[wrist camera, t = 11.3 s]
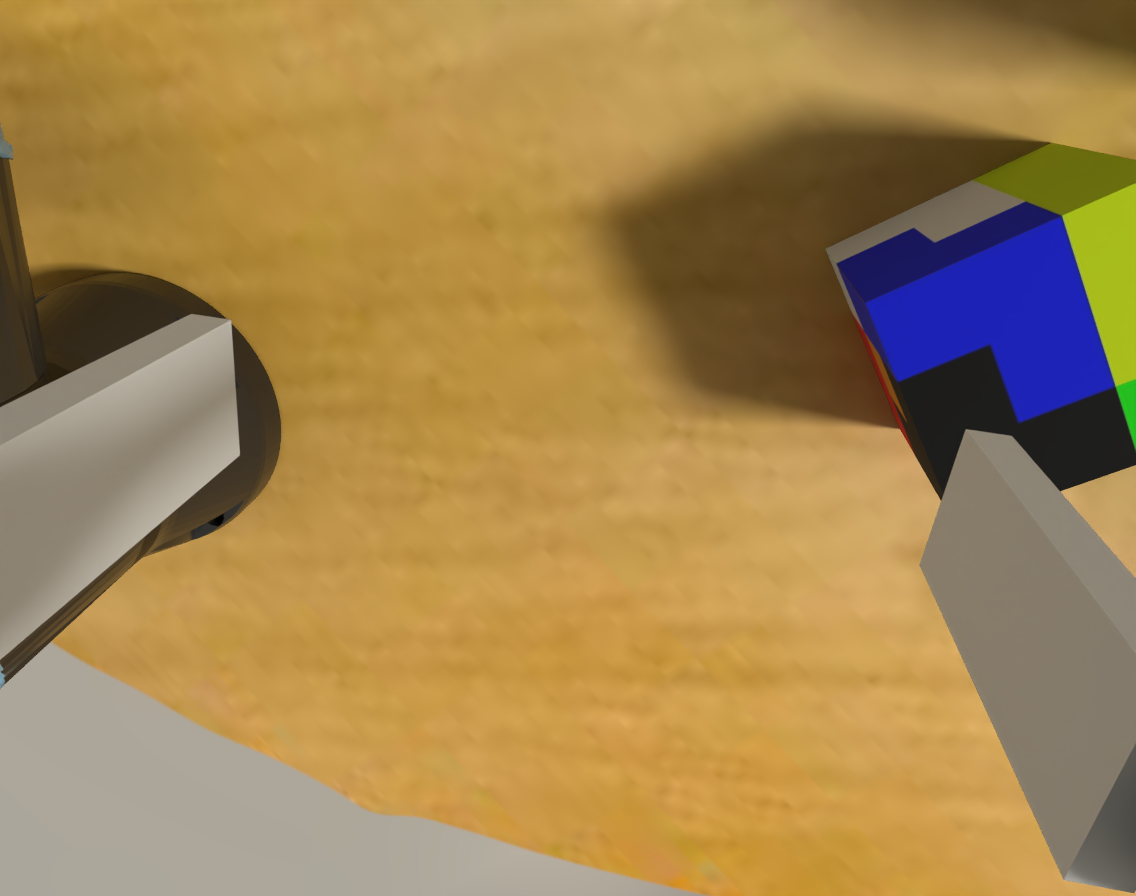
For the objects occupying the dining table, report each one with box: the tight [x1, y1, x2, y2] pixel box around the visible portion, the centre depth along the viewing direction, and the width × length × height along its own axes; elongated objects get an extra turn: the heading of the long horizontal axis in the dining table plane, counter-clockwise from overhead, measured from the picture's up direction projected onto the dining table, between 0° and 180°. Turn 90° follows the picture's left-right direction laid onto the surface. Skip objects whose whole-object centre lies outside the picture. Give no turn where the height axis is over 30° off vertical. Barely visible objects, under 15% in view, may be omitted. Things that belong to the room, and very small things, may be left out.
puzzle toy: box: [826, 143, 1136, 500], centre depth 34 cm, size 10×10×10 cm
